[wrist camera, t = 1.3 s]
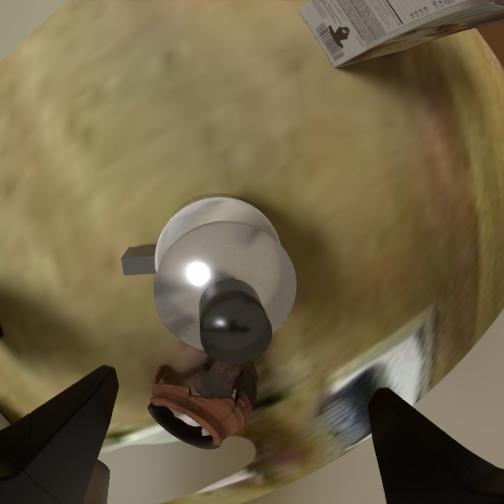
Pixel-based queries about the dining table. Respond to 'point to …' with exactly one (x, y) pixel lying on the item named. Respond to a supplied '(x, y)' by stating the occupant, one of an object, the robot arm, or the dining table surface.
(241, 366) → the pottery mug
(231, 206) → the press
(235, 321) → the plunger
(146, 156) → the dining table surface
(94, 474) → the pillar candle
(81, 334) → the dining table surface
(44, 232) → the dining table surface
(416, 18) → the coffee box
